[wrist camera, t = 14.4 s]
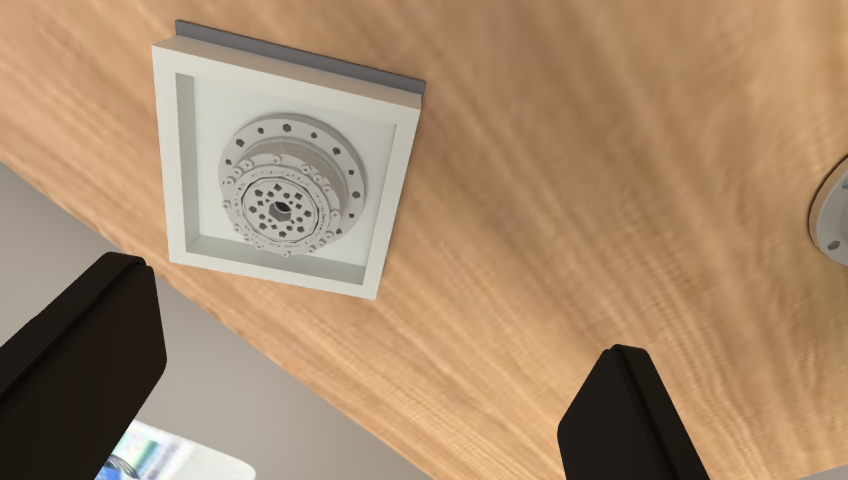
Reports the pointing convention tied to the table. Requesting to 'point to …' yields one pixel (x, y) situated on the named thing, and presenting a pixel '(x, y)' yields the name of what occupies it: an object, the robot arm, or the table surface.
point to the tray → (289, 94)
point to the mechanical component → (290, 184)
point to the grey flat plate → (299, 57)
